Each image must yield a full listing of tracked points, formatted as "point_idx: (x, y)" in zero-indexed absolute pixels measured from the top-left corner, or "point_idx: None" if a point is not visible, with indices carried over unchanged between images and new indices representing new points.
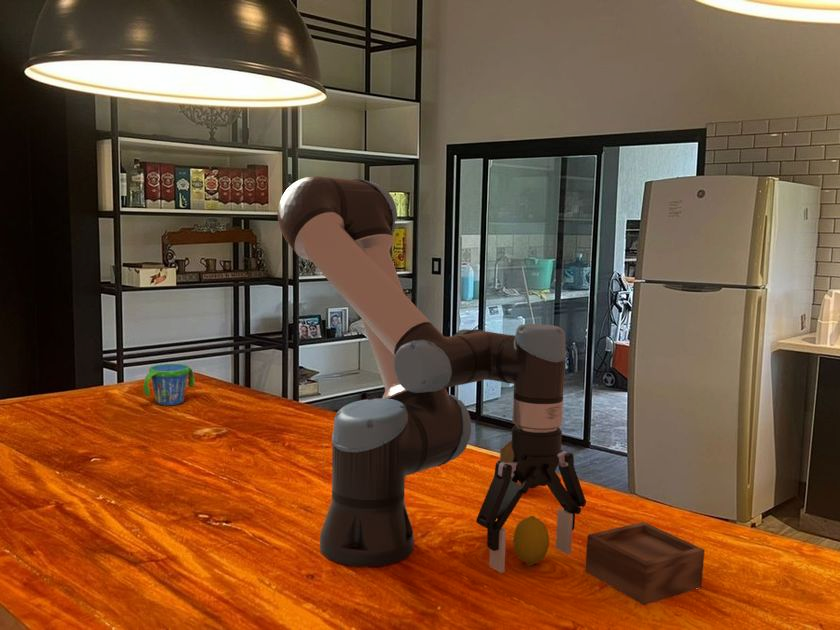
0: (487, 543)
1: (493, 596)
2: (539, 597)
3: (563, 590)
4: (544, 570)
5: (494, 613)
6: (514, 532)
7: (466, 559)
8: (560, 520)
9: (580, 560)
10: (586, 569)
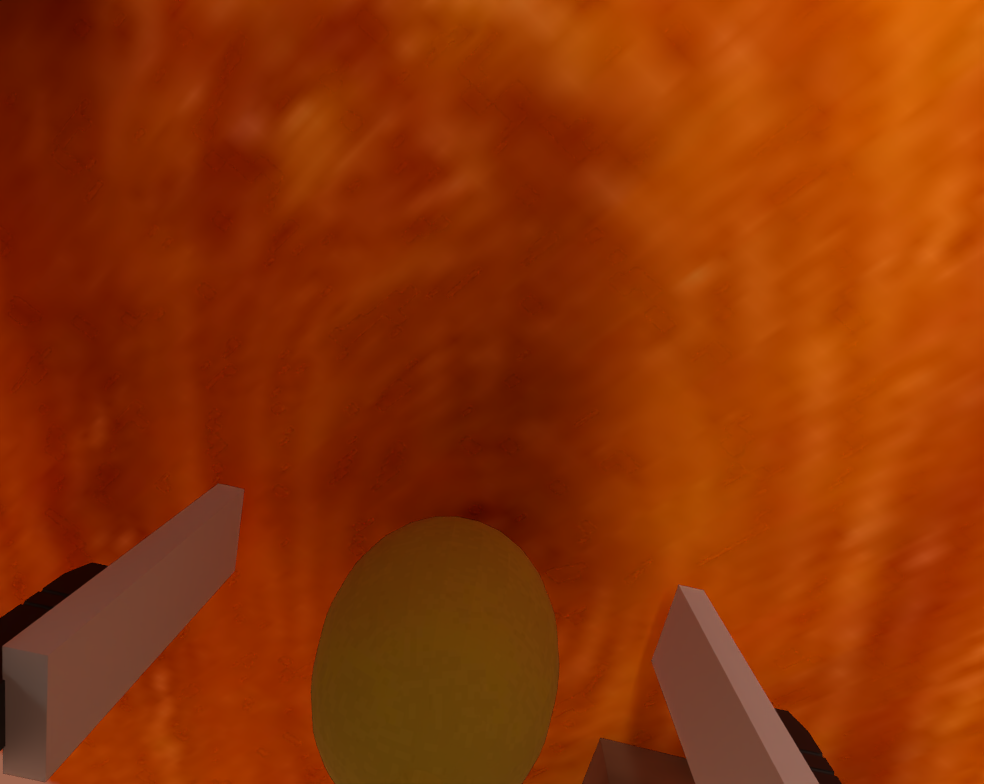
0: (53, 586)
1: None
2: (248, 733)
3: None
4: None
5: None
6: (352, 601)
7: (246, 289)
8: (743, 764)
9: None
10: (600, 754)
